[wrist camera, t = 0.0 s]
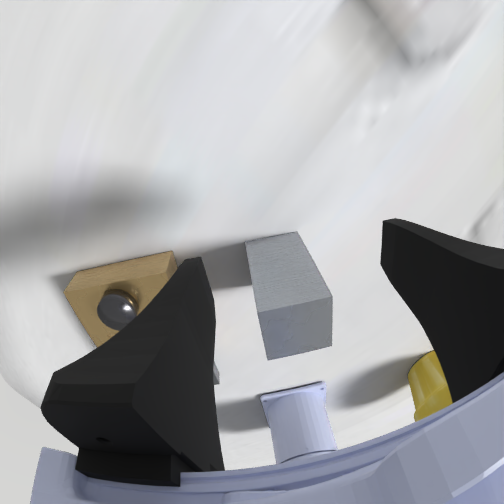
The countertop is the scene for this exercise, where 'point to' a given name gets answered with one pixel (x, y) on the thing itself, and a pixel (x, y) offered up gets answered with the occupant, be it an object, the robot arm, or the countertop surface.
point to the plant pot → (428, 386)
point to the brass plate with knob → (119, 294)
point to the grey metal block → (289, 296)
